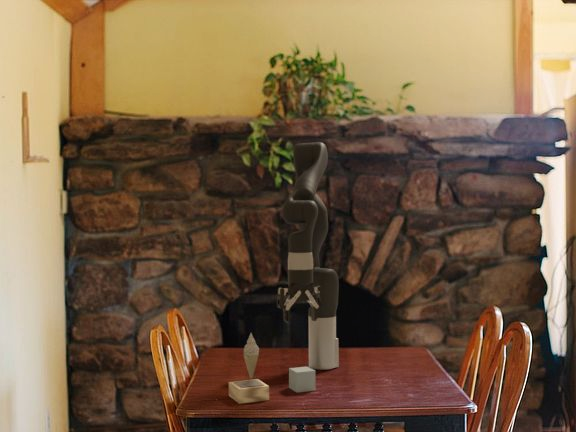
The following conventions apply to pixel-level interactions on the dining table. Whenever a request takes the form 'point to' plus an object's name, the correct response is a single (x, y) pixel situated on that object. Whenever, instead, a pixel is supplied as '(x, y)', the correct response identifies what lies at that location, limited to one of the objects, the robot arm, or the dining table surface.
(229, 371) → the dining table surface
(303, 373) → the cube
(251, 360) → the ice cream cone
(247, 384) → the base
